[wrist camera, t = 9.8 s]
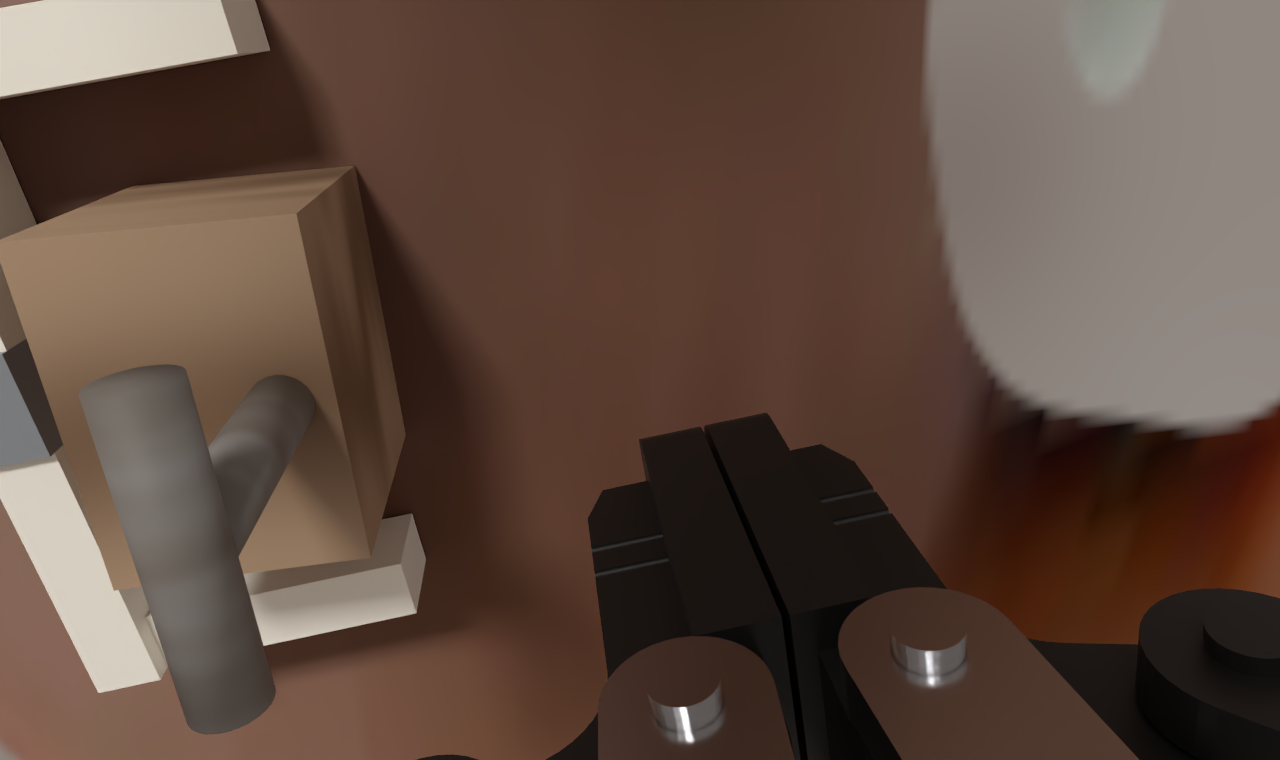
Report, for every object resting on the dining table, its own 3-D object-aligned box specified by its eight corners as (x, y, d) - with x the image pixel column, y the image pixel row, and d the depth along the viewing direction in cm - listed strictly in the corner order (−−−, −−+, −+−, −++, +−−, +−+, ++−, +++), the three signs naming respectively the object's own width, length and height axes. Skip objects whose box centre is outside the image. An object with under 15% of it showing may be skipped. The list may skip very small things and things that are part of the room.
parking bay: (-120, 42, 19) (-238, 45, 16) (248, -23, 19) (198, -32, 16) (145, 618, 25) (94, 698, 22) (426, 559, 25) (413, 630, 22)
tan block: (134, 185, 21) (-295, 358, 10) (355, 165, 21) (178, 310, 10) (210, 456, 23) (-62, 832, 12) (405, 433, 24) (307, 777, 13)
